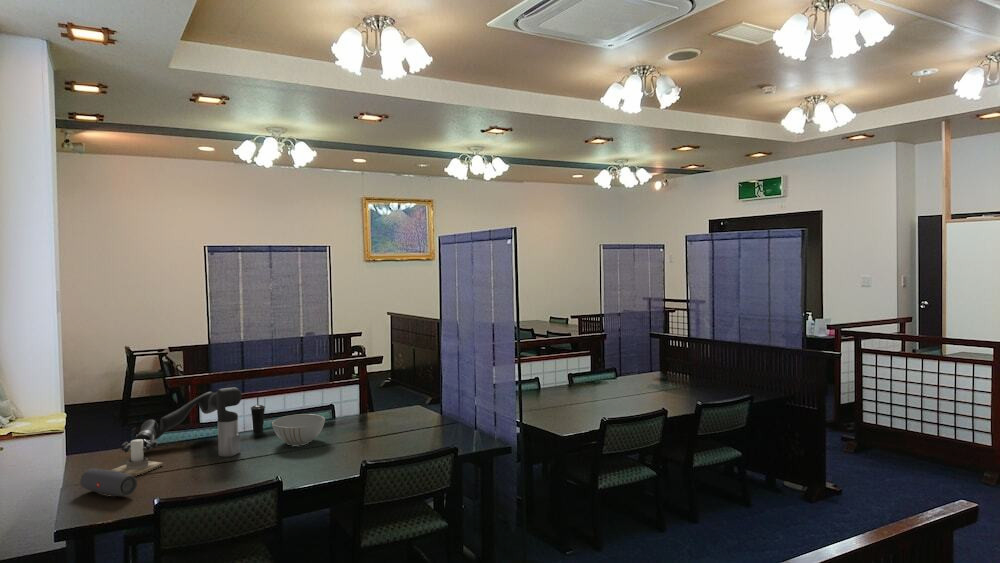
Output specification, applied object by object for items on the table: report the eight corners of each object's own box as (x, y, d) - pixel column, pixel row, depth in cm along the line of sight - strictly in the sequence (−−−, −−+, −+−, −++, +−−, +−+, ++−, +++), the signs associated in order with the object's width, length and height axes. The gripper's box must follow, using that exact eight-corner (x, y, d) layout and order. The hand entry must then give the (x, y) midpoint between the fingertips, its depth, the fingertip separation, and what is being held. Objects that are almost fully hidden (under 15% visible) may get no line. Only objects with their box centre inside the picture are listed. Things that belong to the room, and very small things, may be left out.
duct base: (163, 465, 294) (163, 456, 294) (136, 476, 280) (136, 466, 279) (138, 462, 298) (138, 453, 298) (110, 473, 284) (110, 463, 284)
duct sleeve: (146, 464, 291) (145, 439, 290) (137, 468, 286) (136, 442, 285) (137, 463, 292) (137, 438, 292) (128, 467, 287) (127, 441, 287)
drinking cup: (268, 429, 354) (267, 395, 353) (259, 433, 347) (258, 398, 346) (257, 428, 356) (256, 394, 355) (247, 432, 349) (247, 397, 348)
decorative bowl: (284, 454, 311) (284, 430, 310) (264, 442, 331) (264, 419, 331) (334, 443, 329) (333, 421, 328) (312, 432, 349) (311, 411, 348)
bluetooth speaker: (78, 495, 259) (78, 471, 258) (100, 487, 267) (99, 464, 267) (118, 503, 251) (117, 478, 250) (138, 494, 259) (138, 471, 259)
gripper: (160, 445, 305) (153, 455, 290) (127, 448, 301) (119, 459, 285) (160, 430, 305) (153, 440, 290) (127, 433, 300) (118, 443, 285)
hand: (136, 449), depth 287 cm, fingers open, 8 cm apart
